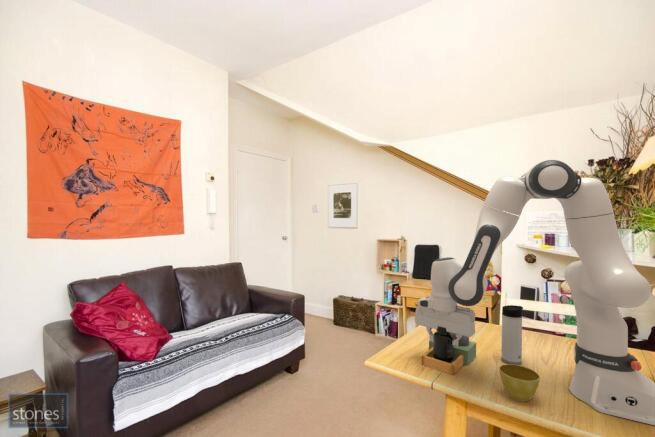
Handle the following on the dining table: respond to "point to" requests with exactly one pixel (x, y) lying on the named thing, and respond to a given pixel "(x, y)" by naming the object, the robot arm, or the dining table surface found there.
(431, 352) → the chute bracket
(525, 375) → the flower pot
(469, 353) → the green block with knob
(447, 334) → the supplement bottle
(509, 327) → the travel mug
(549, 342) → the dining table surface
